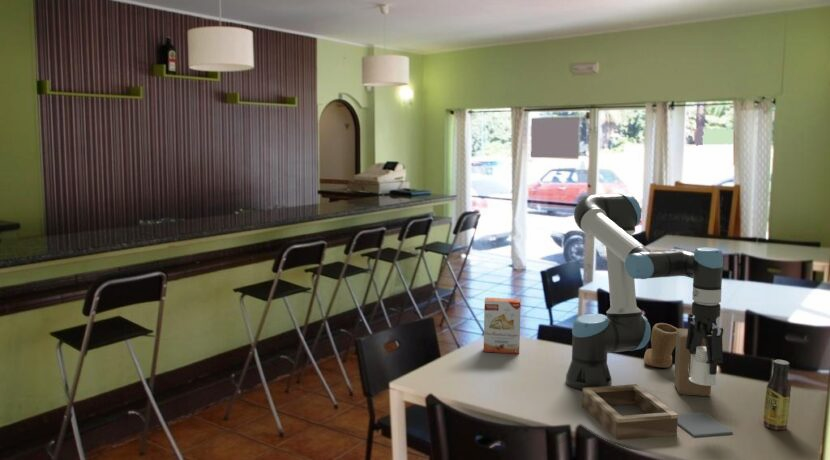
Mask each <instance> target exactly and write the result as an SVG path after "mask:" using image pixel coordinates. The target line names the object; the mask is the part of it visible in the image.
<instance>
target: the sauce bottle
mask: <svg viewBox="0 0 830 460" xmlns="http://www.w3.org/2000/svg"><path fill="white" fill-rule="evenodd" d="M772 365H773V369H772V375H771V377H770V379H769V380H768V383H767V385H766V389H765V398H764V400H765V401H764V408H763V416H762V417H763V418H762V419H763V425H764V426H765V427H767V428H769V429H771V430H774V431H778V430H779V431H785V430H786V429H787V427H788V426H787V425H788V421H789V412H790V410H789V409H790V404H791V403H790V402H791V392H792V391H791V389H792V386H791V383H790V380H789V379H788V378H789V377H788V376H789V375H788V373H789V368H790V362H789V361H787V360H783V359H775V360H773V364H772Z"/></svg>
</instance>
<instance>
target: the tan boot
mask: <svg viewBox="0 0 830 460" xmlns="http://www.w3.org/2000/svg"><path fill="white" fill-rule="evenodd" d="M677 329H678V328H677V327H675V326H673V325H672V324H668V323H664V322H659V323H655V324H654V325H653V327H652V330H651V333H650V344H651V348H648V349H646V351H645V352H644V355H643V356H644V357H643V362H644V364H645V365H647V366H650V367H654V368H655V367H656V368H669V367H671V365H672V363H673V355H672V354H673V351H674V349H675V348H676V333H677Z"/></svg>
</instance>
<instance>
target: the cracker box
mask: <svg viewBox="0 0 830 460" xmlns="http://www.w3.org/2000/svg"><path fill="white" fill-rule="evenodd" d="M521 306H522V305H521V298H504V297H503V298H500V297H485V298H484V306H483V307H484V308H483V309H484V311H483V312H484V313H483V318H484V320H483V352H484V353H498V354H499V353H500V354H514V355H515V354H517V355H519V354H520V346H521V345H520V344H521V343H520V342H521V338H520V337H521Z"/></svg>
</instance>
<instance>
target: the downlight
mask: <svg viewBox="0 0 830 460" xmlns="http://www.w3.org/2000/svg"><path fill="white" fill-rule="evenodd" d="M707 361H708V356H707V349H706V347H704V346H698V347H696V357H694V358H693V364H692V374H691V377H689V380H690V381H691V382H693V383H695V384H699V385H705V378H706V362H707ZM688 366H689V364H688ZM688 371H689V369H688ZM689 375H690V373H689ZM716 378H718V374H716ZM706 386H710V385H706Z"/></svg>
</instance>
